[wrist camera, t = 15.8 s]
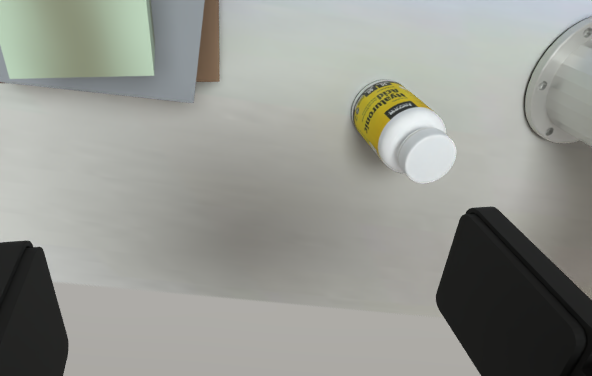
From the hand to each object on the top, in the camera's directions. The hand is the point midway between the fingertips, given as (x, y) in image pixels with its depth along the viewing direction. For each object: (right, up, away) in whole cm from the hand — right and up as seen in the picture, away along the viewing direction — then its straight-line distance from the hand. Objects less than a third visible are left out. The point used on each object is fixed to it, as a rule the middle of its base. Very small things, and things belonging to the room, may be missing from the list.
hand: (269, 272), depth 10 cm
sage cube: (-10, +13, +13) cm, 21 cm away
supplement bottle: (+8, +9, +30) cm, 33 cm away
